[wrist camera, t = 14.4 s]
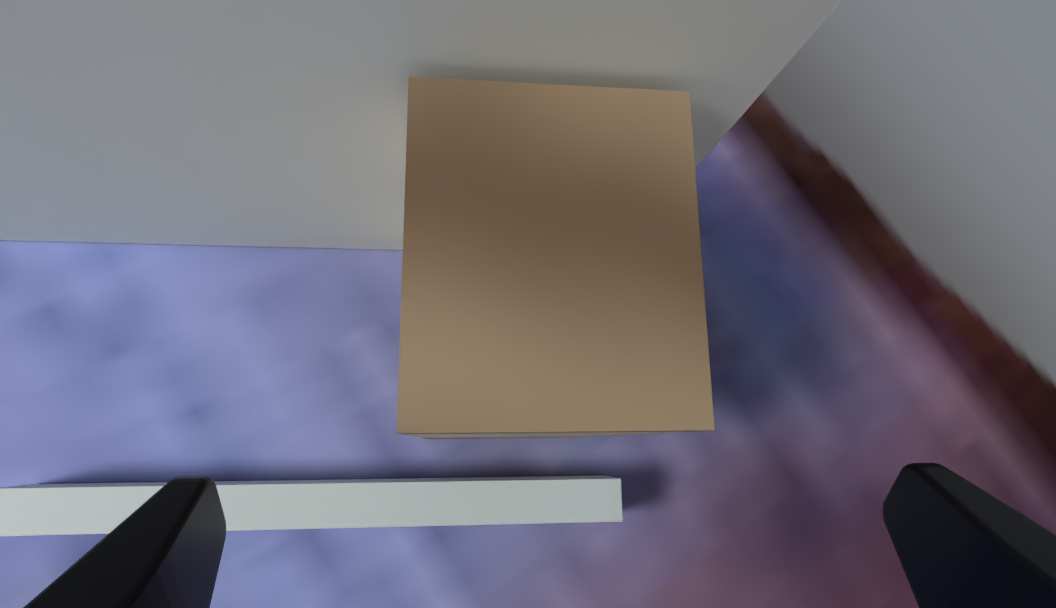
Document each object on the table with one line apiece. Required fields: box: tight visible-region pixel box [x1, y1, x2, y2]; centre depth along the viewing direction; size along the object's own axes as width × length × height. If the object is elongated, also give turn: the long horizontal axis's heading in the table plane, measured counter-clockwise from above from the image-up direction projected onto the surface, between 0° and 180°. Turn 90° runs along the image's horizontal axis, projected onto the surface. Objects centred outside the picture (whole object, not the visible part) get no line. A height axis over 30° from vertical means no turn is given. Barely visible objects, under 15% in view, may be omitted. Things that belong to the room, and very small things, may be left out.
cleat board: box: [0, 0, 842, 536], centre depth 14 cm, size 14×22×14 cm, turn 91°
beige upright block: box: [397, 77, 715, 439], centre depth 16 cm, size 6×5×11 cm
